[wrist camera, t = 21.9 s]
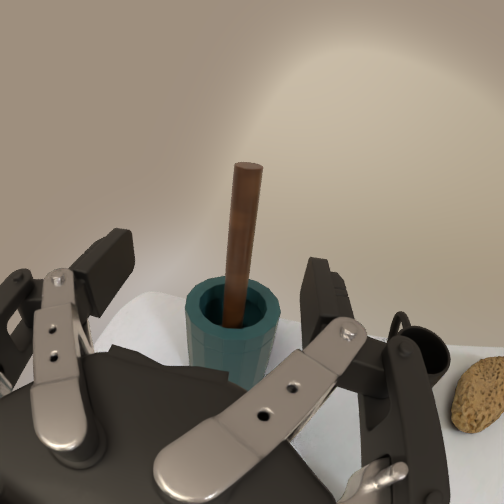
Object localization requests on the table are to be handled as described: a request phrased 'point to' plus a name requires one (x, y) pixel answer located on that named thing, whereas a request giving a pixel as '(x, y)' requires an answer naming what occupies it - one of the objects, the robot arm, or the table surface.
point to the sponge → (479, 395)
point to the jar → (231, 331)
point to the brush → (240, 241)
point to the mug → (424, 346)
